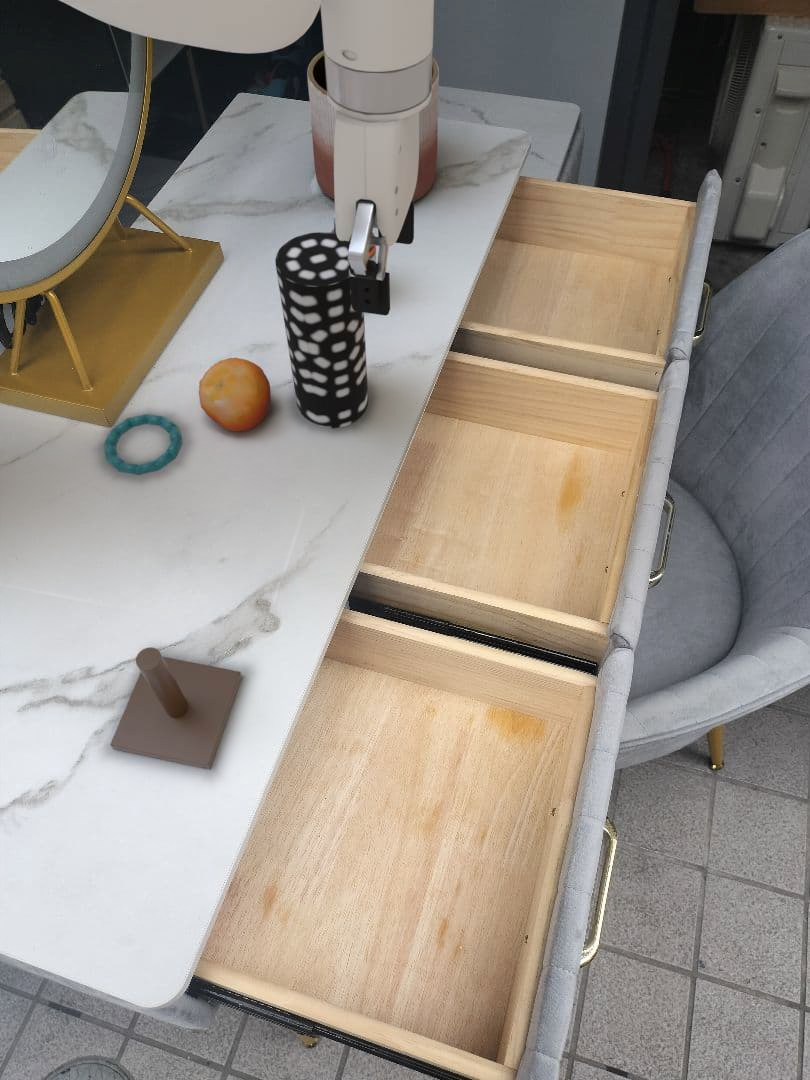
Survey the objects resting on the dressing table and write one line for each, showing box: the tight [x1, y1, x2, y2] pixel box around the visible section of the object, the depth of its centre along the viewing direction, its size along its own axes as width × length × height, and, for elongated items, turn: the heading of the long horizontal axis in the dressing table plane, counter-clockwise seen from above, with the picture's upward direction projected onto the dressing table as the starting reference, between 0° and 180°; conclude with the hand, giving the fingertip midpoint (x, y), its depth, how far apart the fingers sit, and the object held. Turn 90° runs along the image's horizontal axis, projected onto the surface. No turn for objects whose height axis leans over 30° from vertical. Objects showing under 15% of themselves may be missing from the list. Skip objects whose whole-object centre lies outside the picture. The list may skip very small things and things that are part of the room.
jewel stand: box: [110, 647, 243, 770], centre depth 69 cm, size 9×9×11 cm
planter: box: [306, 49, 440, 203], centre depth 114 cm, size 18×18×16 cm
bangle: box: [103, 413, 183, 476], centre depth 91 cm, size 8×8×1 cm
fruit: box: [198, 357, 271, 432], centre depth 92 cm, size 8×8×8 cm
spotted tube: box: [274, 231, 369, 429], centre depth 87 cm, size 8×8×20 cm
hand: (384, 274), depth 72 cm, fingers open, 9 cm apart
